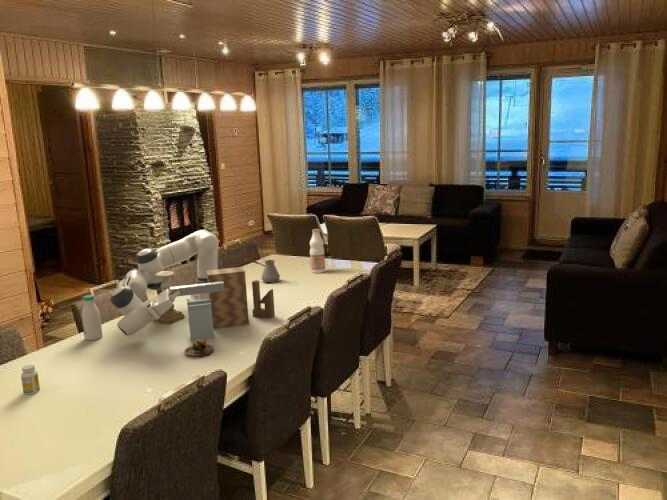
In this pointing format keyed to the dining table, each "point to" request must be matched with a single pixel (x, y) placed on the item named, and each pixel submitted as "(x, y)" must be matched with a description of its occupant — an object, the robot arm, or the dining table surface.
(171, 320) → the candle holder
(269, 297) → the wooden block
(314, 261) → the fruit juice
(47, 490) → the dining table surface
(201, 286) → the bar
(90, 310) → the milk bottle
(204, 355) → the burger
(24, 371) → the supplement bottle
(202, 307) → the block
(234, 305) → the brown tall rectangular box
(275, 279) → the coffee pot
